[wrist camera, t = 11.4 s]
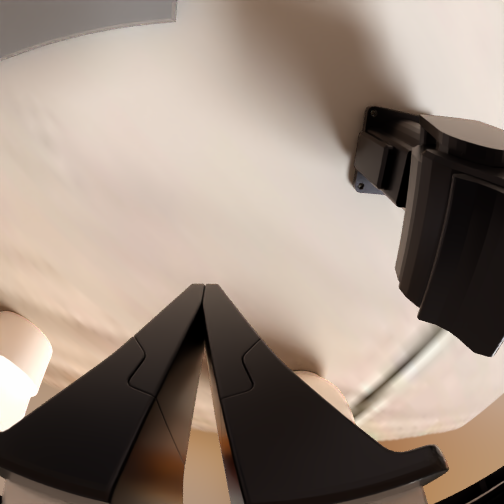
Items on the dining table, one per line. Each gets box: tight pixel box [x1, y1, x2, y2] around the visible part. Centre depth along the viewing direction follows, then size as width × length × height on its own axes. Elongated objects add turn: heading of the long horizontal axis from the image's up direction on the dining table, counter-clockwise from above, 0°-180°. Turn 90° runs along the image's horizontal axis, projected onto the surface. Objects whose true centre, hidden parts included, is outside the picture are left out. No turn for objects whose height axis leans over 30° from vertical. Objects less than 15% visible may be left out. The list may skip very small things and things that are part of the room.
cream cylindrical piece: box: [0, 311, 52, 432], centre depth 24 cm, size 9×9×12 cm
